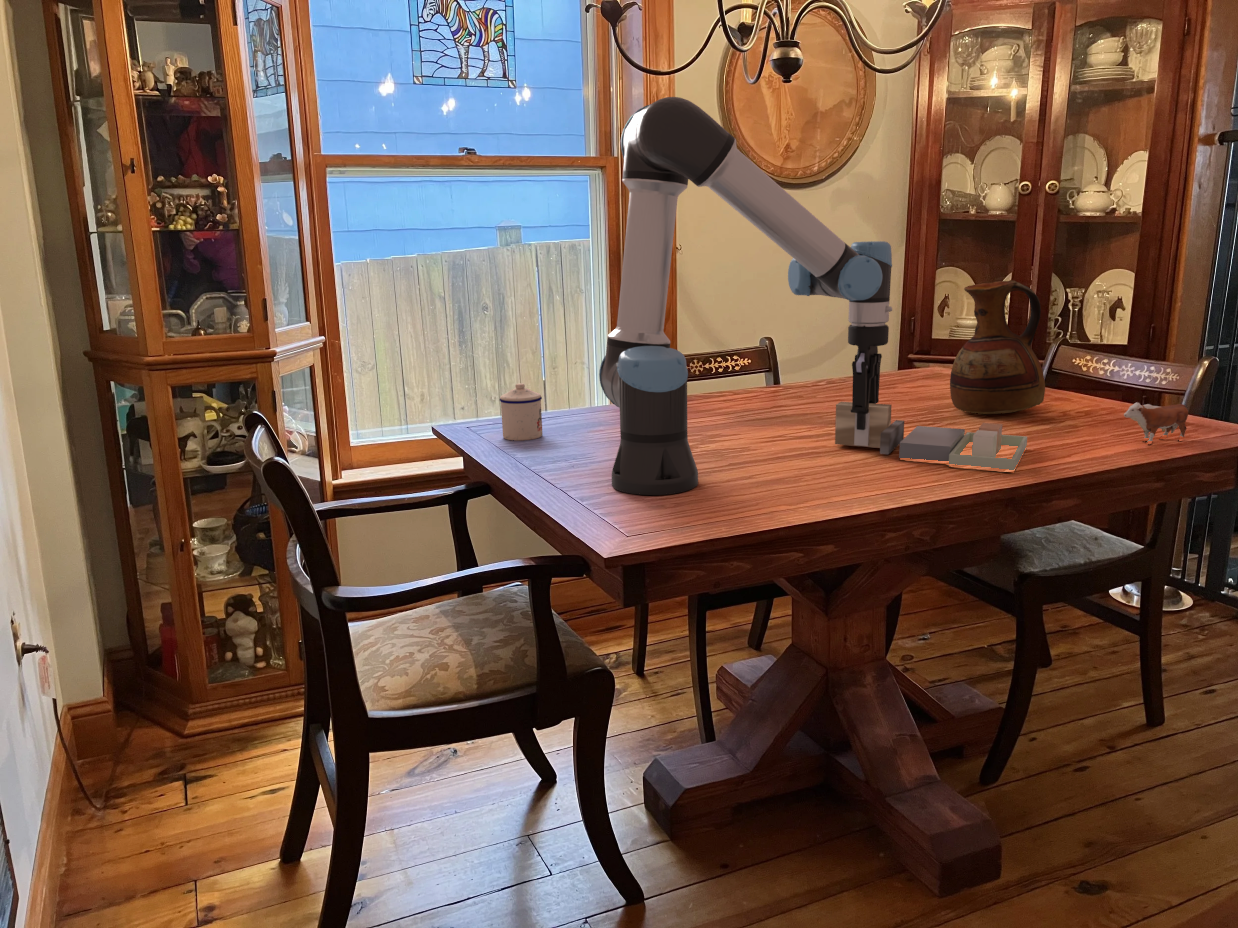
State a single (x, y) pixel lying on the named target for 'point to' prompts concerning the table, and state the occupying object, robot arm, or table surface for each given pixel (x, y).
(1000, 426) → the reddish brown block
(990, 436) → the light grey block
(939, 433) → the slate board
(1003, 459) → the tray
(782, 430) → the table surface
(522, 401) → the teacup with lid
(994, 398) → the ceramic pitcher
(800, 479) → the table surface
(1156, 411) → the bull figurine
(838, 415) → the beige slab
